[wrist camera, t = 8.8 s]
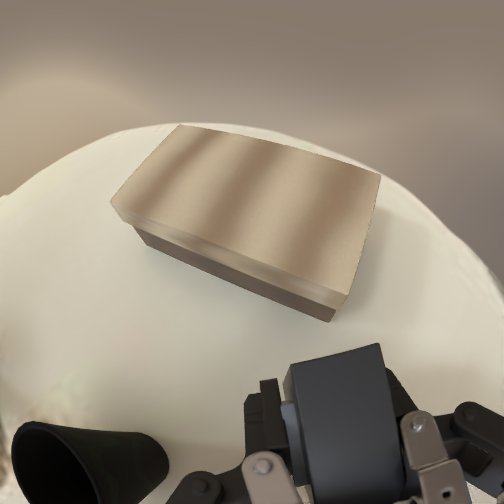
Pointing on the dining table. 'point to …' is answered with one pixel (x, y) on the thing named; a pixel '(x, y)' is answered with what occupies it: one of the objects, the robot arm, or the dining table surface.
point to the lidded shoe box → (254, 214)
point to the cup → (85, 465)
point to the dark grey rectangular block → (343, 429)
